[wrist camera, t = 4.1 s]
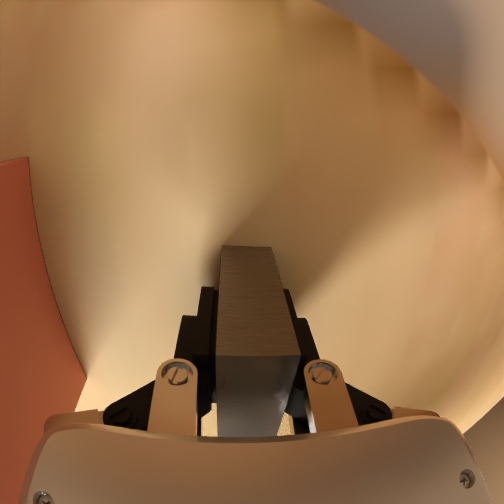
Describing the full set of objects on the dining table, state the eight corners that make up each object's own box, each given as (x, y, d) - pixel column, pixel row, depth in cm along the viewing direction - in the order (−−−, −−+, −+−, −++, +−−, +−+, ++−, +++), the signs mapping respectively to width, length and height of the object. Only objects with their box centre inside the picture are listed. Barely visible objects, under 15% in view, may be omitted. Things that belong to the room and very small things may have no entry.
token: (258, 351, 14) (270, 453, 9) (220, 350, 14) (218, 453, 9) (271, 247, 12) (301, 355, 6) (222, 245, 12) (215, 355, 6)
